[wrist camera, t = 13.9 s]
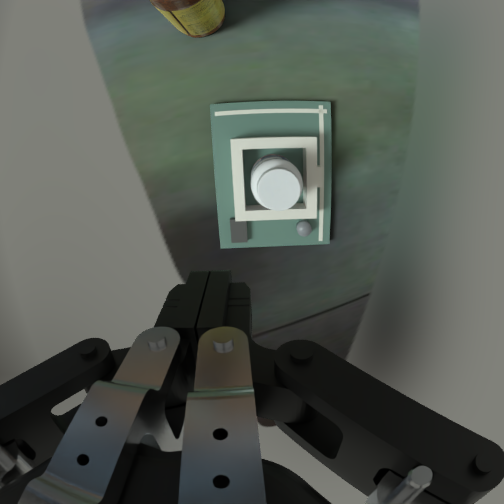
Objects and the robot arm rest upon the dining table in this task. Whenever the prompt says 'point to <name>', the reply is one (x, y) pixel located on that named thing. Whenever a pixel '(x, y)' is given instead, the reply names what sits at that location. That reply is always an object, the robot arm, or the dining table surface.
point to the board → (265, 143)
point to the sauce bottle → (193, 15)
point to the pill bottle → (276, 182)
